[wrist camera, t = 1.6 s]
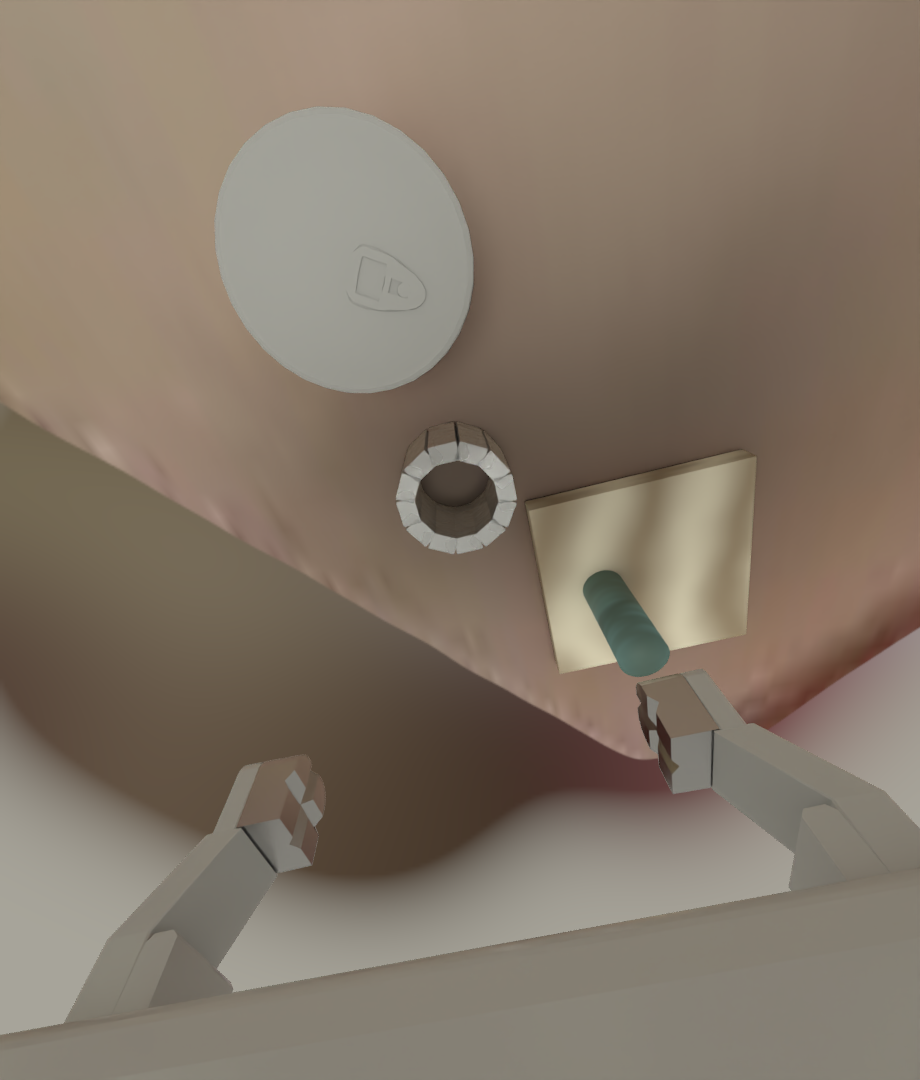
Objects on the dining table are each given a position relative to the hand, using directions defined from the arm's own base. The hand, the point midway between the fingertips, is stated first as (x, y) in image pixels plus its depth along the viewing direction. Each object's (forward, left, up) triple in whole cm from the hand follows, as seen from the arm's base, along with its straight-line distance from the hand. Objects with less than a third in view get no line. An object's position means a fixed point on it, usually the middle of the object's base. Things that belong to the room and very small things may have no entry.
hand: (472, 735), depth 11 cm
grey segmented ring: (0, 0, -20) cm, 20 cm away
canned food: (+1, -11, -20) cm, 23 cm away
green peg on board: (-11, +10, -20) cm, 25 cm away
